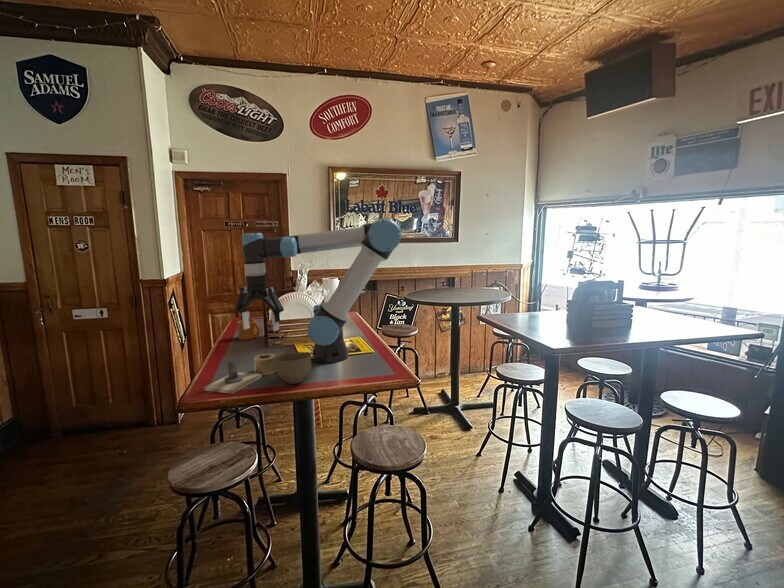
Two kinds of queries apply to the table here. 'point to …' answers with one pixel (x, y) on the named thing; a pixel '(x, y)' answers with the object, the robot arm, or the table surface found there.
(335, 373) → the table surface
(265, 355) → the collar
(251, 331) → the mug
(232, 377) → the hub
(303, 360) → the bowl
